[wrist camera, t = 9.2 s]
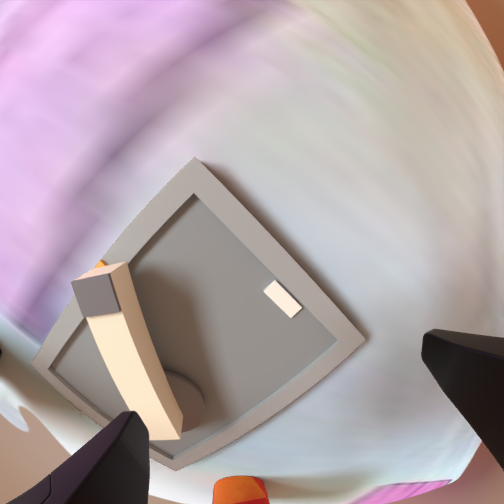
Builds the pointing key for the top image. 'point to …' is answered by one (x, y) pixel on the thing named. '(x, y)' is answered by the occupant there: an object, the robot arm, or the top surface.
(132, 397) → the long cream stick
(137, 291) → the board
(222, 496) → the coffee cup
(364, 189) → the top surface
